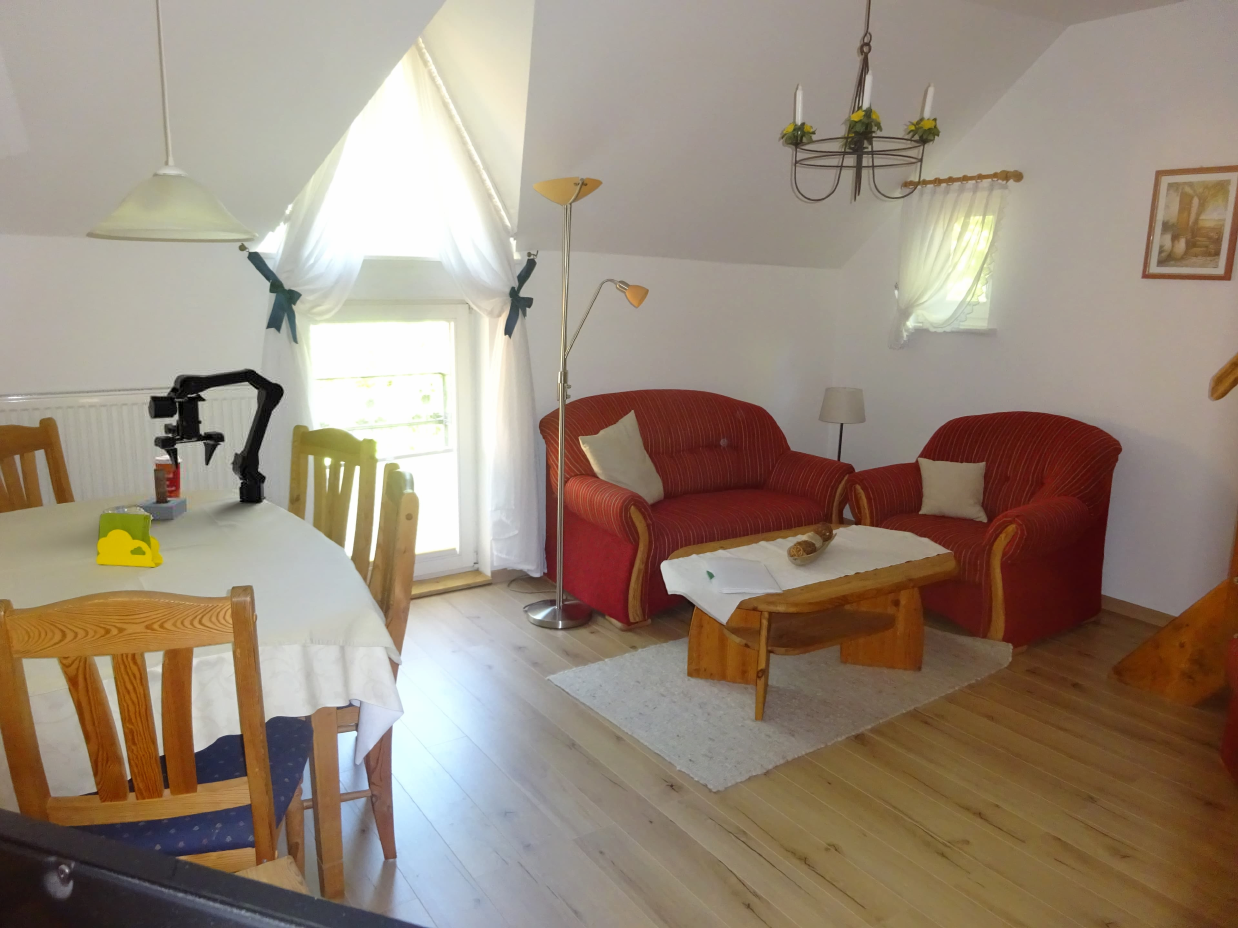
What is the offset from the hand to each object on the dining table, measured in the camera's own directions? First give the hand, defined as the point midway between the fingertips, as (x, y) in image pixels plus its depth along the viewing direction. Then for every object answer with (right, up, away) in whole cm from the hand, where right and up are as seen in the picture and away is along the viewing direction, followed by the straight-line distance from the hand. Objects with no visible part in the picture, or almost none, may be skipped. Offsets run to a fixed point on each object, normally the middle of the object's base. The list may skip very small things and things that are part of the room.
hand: (191, 467), depth 258 cm
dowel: (-6, -13, -6) cm, 16 cm away
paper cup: (-12, -11, +11) cm, 20 cm away
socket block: (-6, -14, -6) cm, 16 cm away
